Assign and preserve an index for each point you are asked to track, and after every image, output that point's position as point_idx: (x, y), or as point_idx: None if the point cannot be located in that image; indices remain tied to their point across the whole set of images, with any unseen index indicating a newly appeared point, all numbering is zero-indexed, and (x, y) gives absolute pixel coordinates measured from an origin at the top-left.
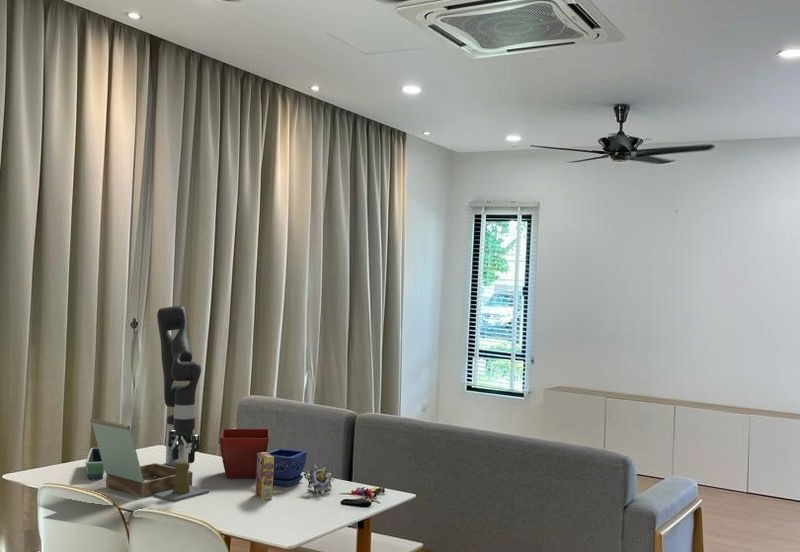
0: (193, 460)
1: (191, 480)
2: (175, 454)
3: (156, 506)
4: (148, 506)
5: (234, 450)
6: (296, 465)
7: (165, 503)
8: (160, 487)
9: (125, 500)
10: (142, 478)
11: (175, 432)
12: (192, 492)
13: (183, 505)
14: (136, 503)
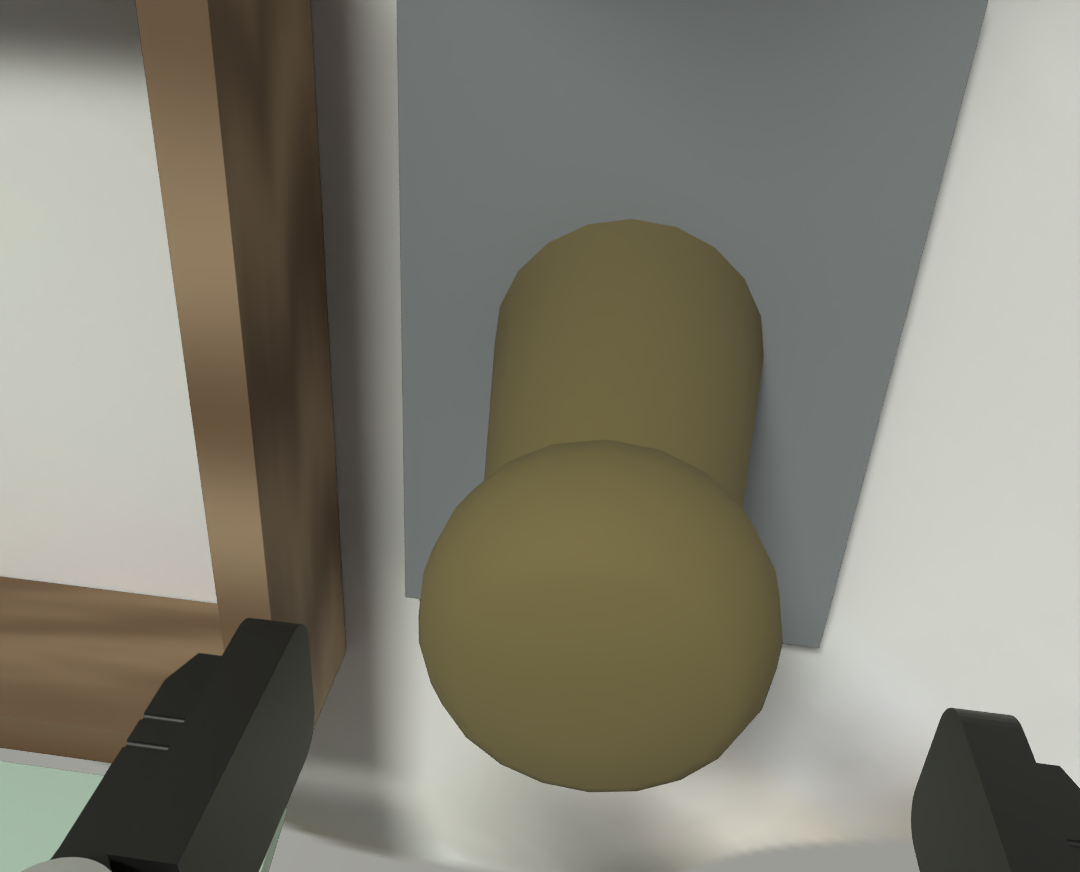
0: (1070, 819)
1: None
2: (259, 811)
3: (762, 810)
4: (688, 837)
5: None
6: None
7: (766, 705)
8: (309, 476)
9: (317, 795)
10: (265, 865)
11: None
12: (798, 270)
13: (1030, 673)
14: (497, 818)
